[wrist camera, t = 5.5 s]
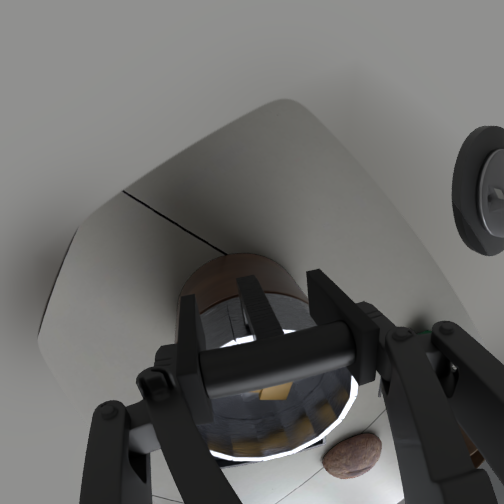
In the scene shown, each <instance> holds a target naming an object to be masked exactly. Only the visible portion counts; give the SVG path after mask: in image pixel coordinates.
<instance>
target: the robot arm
mask: <svg viewBox="0 0 504 504" xmlns="http://www.w3.org/2000/svg"><path fill="white" fill-rule="evenodd" d="M476 209H477V214H478V218H479V221H480V223H481V225H482V227H483V229H484V230H485V231H486V232H487V233H489V234H491V235H493V236H496V237H502V238H504V149H494V150H492V151H491V152H490V153H488V155H487V156H486V157H485V159H484V160H483V162H482V165H481V167H480V170H479V173H478V178H477V184H476ZM306 273H307V286H308V300H309V314H310V316H311V318H312V319H313V320H314V322H315V323H316V325H317V326H318V325H321V324H325V323H329V322H333V321H336V320H344V321H345V322H346V323H347V324H348V326H349V327H350V329H351V332H352V334H353V337H354V341H355V346H356V359H355V362H354V363H353V364H351V365H349V366H346V368H347V369H348V371H349V372H350V373H351V375H352V376H353V378H354V379H355V381H356V382H357V384H358V385H359V386H360V385H363V384H366V383H369V382H372V381H374V380H375V376H376V370H377V372H378V373H379V374H380V375H381V379H380V386H379V393H378V397H381V393H382V394H383V398H384V402H385V406H386V410H387V414H388V418H389V422H390V427H391V431H392V436H393V440H394V445H395V450H396V454H397V459H398V464H399V470H400V475H401V480H402V486H403V492H404V498H405V504H498V503H497V499H496V496H495V493H494V490H493V487H492V484H491V481H490V478H489V476H488V474H487V472H486V471H485V470H484V469H476V468H475V467H474V465H473V462H472V460H471V457H470V454H469V451H468V449H467V446H466V443H465V441H464V438H463V436H462V433H461V430H460V428H459V426H458V424H459V425H460V426H461V428H462V429H463V430H464V432H465V433H466V434H467V436H468V437H469V438H470V440H471V441H472V442H473V444H474V445H475V446H476V448H477V449H478V450H479V452H480V453H481V455H482V456H483V457H484V459H485V460H486V461H487V463H488V464H489V465H490V467H491V468H492V470H493V471H494V473H495V474H496V475H497V477H498V478H499V480H500V481H501V482H502V484H503V485H504V365H503V364H502V363H501V362H500V361H499V360H497V359H496V358H495V357H494V356H493V355H492V354H491V353H490V352H489V351H487V350H486V349H485V348H484V347H483V346H482V345H481V344H480V343H478V342H477V341H476V340H475V339H474V338H473V337H471V336H470V335H469V334H468V333H467V332H466V331H464V330H463V329H462V328H461V327H460V326H459V325H457V324H455V323H454V322H450V321H440V322H437V323H435V324H434V325H433V327H432V333H426V334H417V335H416V333H415V332H414V331H413V330H411V329H409V328H406V327H396V326H395V325H394V324H393V323H392V322H391V321H390V320H389V319H388V318H387V317H385V316H384V315H383V314H382V313H381V312H380V311H378V309H377V308H375V307H374V306H373V305H372V304H369V303H367V302H364V301H363V302H360V303H356V304H355V303H354V302H353V301H352V300H351V299H350V298H349V297H348V296H347V295H346V294H345V293H344V292H343V291H342V290H341V289H340V288H339V287H338V286H337V285H336V284H335V283H334V282H333V281H332V280H331V279H330V278H328V277H327V276H326V275H325V274H324V273H323V272H322V271H321V270H320V269H316V270H311V271H306ZM205 350H206V339H205V334H204V330H203V326H202V322H201V318H200V314H199V309H198V305H197V301H196V297H195V294H191V295H185V296H181V299H180V312H179V326H178V342H177V343H176V344H170V345H164V346H161V347H160V348H159V349H158V351H157V352H156V355H155V362H154V367H150V368H148V369H145V370H143V371H142V372H141V373H140V374H139V375H138V377H137V378H136V384H137V386H138V388H139V390H140V392H141V395H142V397H143V400H141V401H140V402H138V403H135V404H132V405H130V406H127V407H125V406H124V405H123V403H122V402H119V401H115V400H110V401H107V402H104V403H102V404H100V405H99V406H98V407H97V408H96V409H95V411H94V413H93V417H92V422H91V428H90V433H89V439H88V444H87V450H86V456H85V463H84V470H83V477H82V485H81V493H80V502H79V504H152V489H151V465H150V452H153V451H156V450H158V449H161V450H162V452H163V455H164V457H165V460H166V462H167V465H168V467H169V469H170V472H171V474H172V477H173V479H174V481H175V483H176V486H177V488H178V490H179V492H180V495H181V497H182V499H183V501H184V503H185V504H242V502H241V501H240V499H239V498H238V496H237V495H236V493H235V491H234V490H233V488H232V487H231V485H230V484H229V482H228V480H227V479H226V477H225V475H224V474H223V472H222V470H221V469H220V467H219V465H218V464H217V462H216V460H215V459H214V457H213V455H212V454H211V452H210V450H209V448H208V446H207V445H206V443H205V441H204V439H203V438H202V436H201V434H200V432H199V430H198V428H197V426H196V425H202V424H209V423H214V419H213V411H212V402H211V399H209V398H208V397H207V395H206V392H205V389H204V386H203V382H202V377H201V372H200V367H199V358H198V355H199V352H200V351H205ZM453 364H454V365H455V366H456V368H457V369H456V370H454V369H453V368H452V365H453ZM457 422H458V423H457Z"/></svg>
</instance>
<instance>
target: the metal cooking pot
mask: <svg viewBox="0 0 504 504" xmlns="http://www.w3.org/2000/svg"><path fill="white" fill-rule="evenodd" d="M236 283H237V289H238V295H239V297H236V298H232V299H229V300H227V301H224V302H222V303H219V304H217V305H216V306H214V307H212V308H210V309H208V310H207V311H206V312H204V313H203V314H201V315H200V318H201V322H202V326H203V330H204V334H205V339H206V350H205V351H200V352H199V355H198V358H199V367H200V372H201V377H202V382H203V386H204V389H205V392H206V395H207V397H208V398H209V399H211V402H212V411H213V419H214V423H209V424H202V425H196V426H197V428H198V430H199V432H200V434H201V436H202V438H203V439H204V441H205V443H206V445H207V446H208V448H209V450H210V452H211V454H212V455H213V456H215V457H219V458H222V459H226V460H230V461H231V460H232V461H262V460H263V461H265V460H270V459H274V458H278V457H282V456H286V455H290V454H293V453H296V452H298V451H300V450H302V449H304V448H306V447H308V446H310V445H312V444H314V443H315V442H317V441H319V440H321V439H322V438H323V437H324V436H326V435H327V434H328V433H329V432H330V431H331V430H332V429H334V428H335V427H336V426H337V425H338V424H339V423H340V422H341V421H342V420H343V419H344V418H345V416H346V414H347V413H348V411H349V409H350V407H351V406H352V404H353V402H354V400H355V399H356V397H357V392H358V384H357V382H356V381H355V379H354V378H353V376H352V375H351V373H350V372H349V371H348V369H347V368H346V366H349V365H351V364H353V363H354V362H355V359H356V346H355V341H354V337H353V334H352V332H351V329H350V327H349V326H348V324H347V323H346V322H345V321H344V320H336V321H333V322H329V323H325V324H321V325H318V326H317V325H316V323H315V322H314V320H313V319H312V318H311V316H310V314H309V305H308V304H306V303H304V302H303V301H301V300H298V299H295V298H293V297H290V296H285V295H280V294H271V293H264V291H263V289H262V287H261V285H260V283H259V281H258V279H257V278H256V277H255V275H250V276H245V277H240V278H236ZM290 382H293V383H292V386H291V388H290V391H289V394H288V396H287V399H286V400H260V399H259V393H254V392H251V391H256V390H260V389H265V388H269V387H273V386H278V385H282V384H286V383H290Z"/></svg>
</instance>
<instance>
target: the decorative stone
mask: <svg viewBox="0 0 504 504" xmlns="http://www.w3.org/2000/svg"><path fill="white" fill-rule="evenodd" d="M381 449H382V443H381V440H380V439H379V438H378V437H377V436H375V435H373V434H369V433H366V434H360V435H357V436H354V437H351V438H349V439H347V440H344V441H342V442H340V443H339V444H337V445H336V446H335V447H333V448H332V449H331V450H330V451H329V452H328V453H327V454H326V455H325V457H324V459H323V466H324V468H325V469H326V471H327V472H328V473H329V474H331V475H332V476H334V477H337V478H340V479H348V478H355V477H358V476H360V475H362V474H364V473H366V472H367V471H369V470H370V469H371V468H372V467H373V466H374V465H375V464H376V462H377V461H378V459H379V457H380V454H381Z"/></svg>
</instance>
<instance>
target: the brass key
mask: <svg viewBox="0 0 504 504" xmlns="http://www.w3.org/2000/svg"><path fill="white" fill-rule="evenodd" d="M292 383H293V382H290V383H286V384H282V385H278V386H273V387H269V388H265V389H260V390H256V391H251V392H254V393H259V399H260V400H286V399H287V396H288V394H289V391H290V388H291V386H292Z"/></svg>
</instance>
